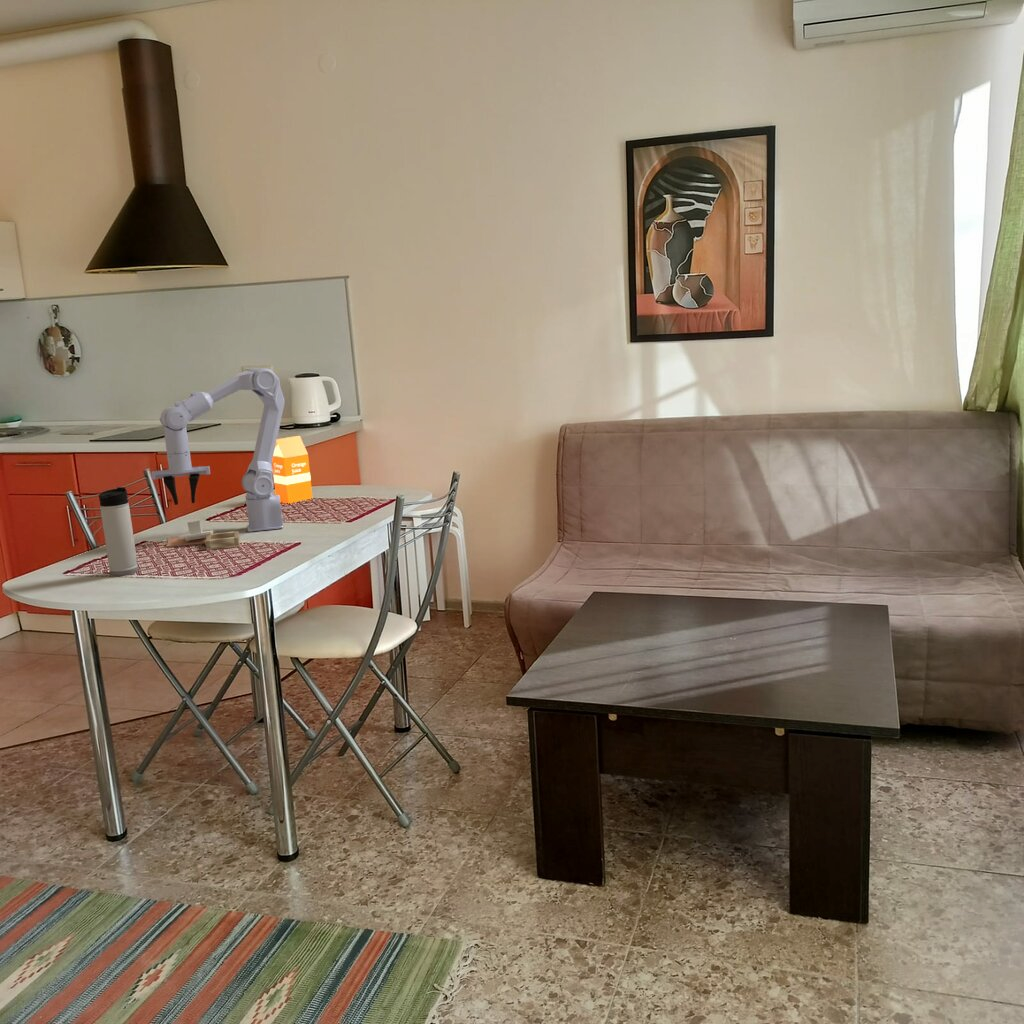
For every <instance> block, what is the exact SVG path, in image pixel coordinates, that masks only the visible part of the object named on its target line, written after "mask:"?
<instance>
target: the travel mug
mask: <svg viewBox="0 0 1024 1024" xmlns="http://www.w3.org/2000/svg"><path fill="white" fill-rule="evenodd" d="M128 497H129V496H128V492H127V489H126V487H123V486H121V487H119V486H118V487H116V488H113V489H112V488H111V489H108V490H105V491H104V490H103V491H102V492H100V493H99V494H98V500H99V506H100V507H99V508H100V516H101V521H102V528H103V534H104V541H105V548H106V554H107V555H106V556H107V562H108V567H109V569H108V570H109V574H110V576H112V575H113V577H123V576H128V575H132V574H133V575H134V574H135V573H137V572H138V571H139V565H138V557H137V552H136V551H137V550H136V545H135V538H134V532H133V531H134V530H133V523H132V515H131V510H130V504H129V499H128Z"/></svg>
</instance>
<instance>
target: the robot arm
mask: <svg viewBox="0 0 1024 1024" xmlns="http://www.w3.org/2000/svg"><path fill="white" fill-rule="evenodd" d="M280 382H281V379H280V378H279V377H278V376H277V375H276V373H275V372H274V370H271V369H270V368H268V367H267V368H265V367H263V368H261V367H255V366H254V367H251V368H249V369H248V370H244V371H242V372H240V373H237V374H235V375H234V376H232V377H231V378H229V379H228V380H227V379H226V380H225V381H224V382H222V383H221V384H219V385H218V386H216V387H214V388H212V389H211V390H209V391H207V392H205V391H204V392H203V391H201V390H199V391H192V392H190V394H189V395H190V396H188V397H185V399H183V400H181V401H178V400H177V401H175V402H174V403H173V404H174V406H168V407H166V408H164V409H163V410H162V412H161V414H160V417H159V421H160V424H162V426H163V429H164V431H163V433H164V441H165V448H166V457H167V463H168V468H167V469H161V470H152V471H151V480H158V479H163V483H164V485H165V486H166V488H167V489H168V491H169V493H170V496H171V497H172V499H173V503H174V505H175V506H176V505H179V498H178V495H177V488H176V478H179V477H180V478H181V477H188V481H189V487H190V498H191V500H190V501H191V503H192V504H195V502H196V493H197V486H198V482H199V479H200V475H211V468H210V465H208V466H207V465H206V466H192V459H191V451H190V443H189V437H188V436H189V435H188V432H187V430H188V429H187V425H188V424H189V422H190V423H191V422H193V421H194V420H197V419H198V418H199V417H202V416H203V415H205V414H207V413H209V412H210V411H212V410H213V406H214V403H217V402H219V401H221V400H223V399H225V398H226V397H228V396H231V395H232V394H234V393H237V392H238V391H252V392H253V393H254V394H256V395H257V396H258V398H259V399H260V400H261V402H262V403H263V411H262V414H261V418H260V419H261V420H260V424H259V429H258V434H257V437H256V443H255V447H254V453H253V456H252V460H251V462H250V463H249V465H248V466H247V471H246V472H245V473H244V475H243V477H242V479H241V486H242V489H243V490H244V491H246V495H245V502H246V512H247V513H246V514H247V520H248V524H247V532H249V533H250V532H258V531H259V532H260V531H269V530H276V529H277V530H278V529H283V528H284V514H283V513H282V504H281V502H280V495H276V494H275V495H274V494H273V490H274V489H275V484H274V476H273V466H272V459H273V455H274V450H275V446H276V441H277V439H278V435H279V431H280V427H281V422H282V416H283V412H284V407H285V403H286V402H285V401H286V400H285V398H284V394H283V391H282V387H281V383H280Z"/></svg>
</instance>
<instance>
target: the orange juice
mask: <svg viewBox="0 0 1024 1024" xmlns="http://www.w3.org/2000/svg"><path fill="white" fill-rule="evenodd" d="M272 469H273V483H274V492H275V495H280V503H283V504H287V503H288V504H289V503H290V504H294V503H293V502H295V503H298V501H300V502H303V501H302V500H305V501H308V500H307V499H310V500H312V499H311V498H313V491H312V489H313V488H312V477H311V471H310V459H309V453H308V451H307V449H306V447H305V444H304V443H303V440H302V437H301V435H298V436H297V435H295V436H289V437H284V438H277V441H276V446H275V450H274V455H273V459H272Z"/></svg>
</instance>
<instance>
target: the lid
mask: <svg viewBox="0 0 1024 1024" xmlns="http://www.w3.org/2000/svg"><path fill="white" fill-rule="evenodd" d="M187 528H188V532H189V533H185V534H181V535H178V536H179V539H182V538H185V541H188V540H194V539H200V538H206V537H207V535H208V534H211V533H212V534H214V529H210V530H206V531H203V526H202V522H201V519H200V520H194V521H188V522H187Z"/></svg>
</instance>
